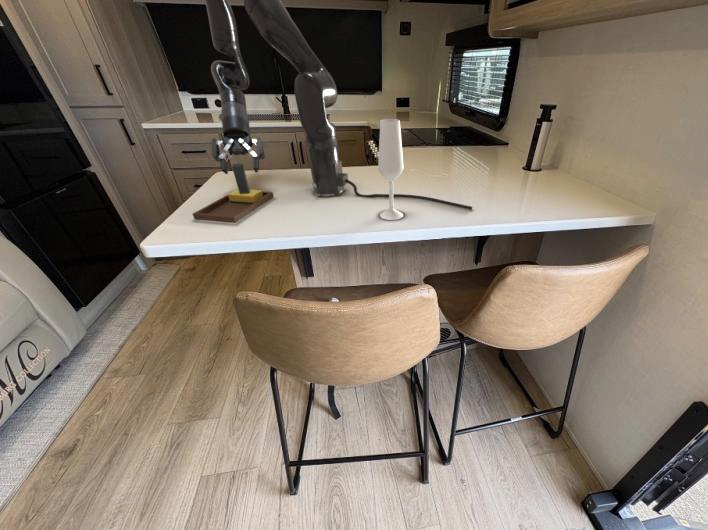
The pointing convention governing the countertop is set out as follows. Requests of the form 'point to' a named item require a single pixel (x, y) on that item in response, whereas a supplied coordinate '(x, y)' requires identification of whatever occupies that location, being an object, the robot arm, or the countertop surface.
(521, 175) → the countertop surface
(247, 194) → the grey post with base
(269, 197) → the tray
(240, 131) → the robot arm
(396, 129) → the champagne flute
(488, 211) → the countertop surface
